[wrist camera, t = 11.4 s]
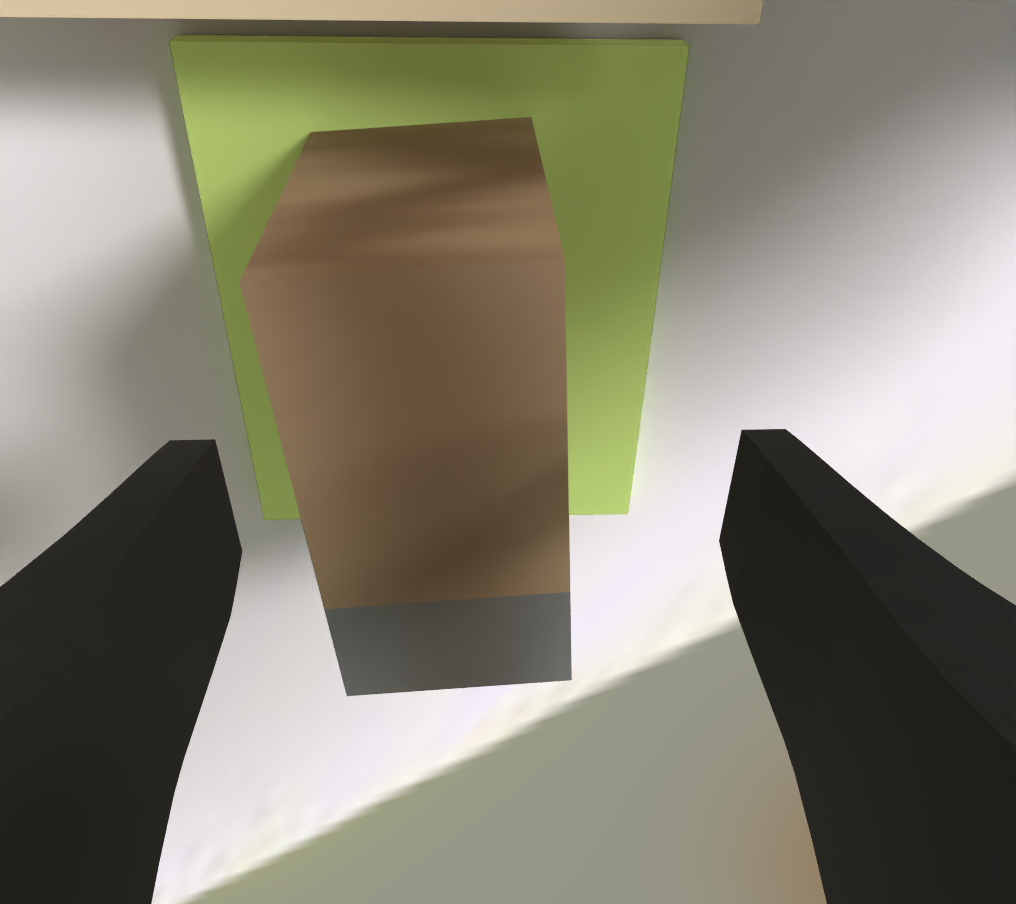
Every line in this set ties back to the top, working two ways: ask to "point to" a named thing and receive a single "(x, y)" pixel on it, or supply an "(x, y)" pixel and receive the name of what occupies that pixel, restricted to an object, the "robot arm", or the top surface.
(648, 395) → the top surface
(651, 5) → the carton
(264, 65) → the mat
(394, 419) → the box
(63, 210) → the top surface
